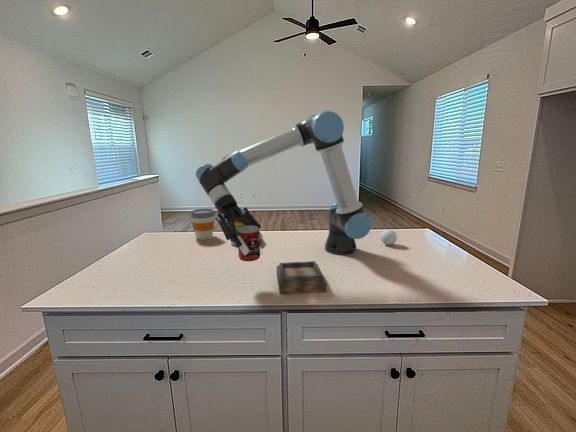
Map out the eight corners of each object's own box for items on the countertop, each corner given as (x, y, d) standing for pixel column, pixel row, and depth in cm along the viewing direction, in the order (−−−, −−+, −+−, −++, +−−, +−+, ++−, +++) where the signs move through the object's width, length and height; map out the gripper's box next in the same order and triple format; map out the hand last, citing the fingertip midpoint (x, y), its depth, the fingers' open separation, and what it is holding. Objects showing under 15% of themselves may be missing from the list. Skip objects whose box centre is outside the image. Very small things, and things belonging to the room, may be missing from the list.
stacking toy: (243, 246, 154) (242, 210, 150) (228, 245, 155) (226, 210, 151) (248, 242, 161) (247, 207, 157) (234, 241, 163) (232, 207, 159)
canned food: (243, 263, 104) (241, 232, 101) (235, 256, 111) (234, 227, 108) (263, 259, 107) (262, 229, 105) (255, 252, 114) (254, 224, 112)
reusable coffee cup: (189, 236, 172) (187, 210, 169) (210, 232, 179) (208, 207, 176) (197, 241, 162) (195, 214, 159) (219, 237, 170) (217, 211, 166)
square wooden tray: (316, 273, 121) (317, 260, 119) (325, 291, 105) (326, 276, 104) (276, 275, 119) (276, 262, 118) (279, 294, 104) (279, 279, 102)
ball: (379, 246, 153) (380, 230, 151) (380, 241, 160) (381, 227, 158) (396, 248, 150) (397, 232, 148) (397, 243, 157) (398, 228, 155)
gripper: (239, 202, 123) (270, 247, 116) (195, 211, 107) (228, 264, 101) (248, 190, 118) (280, 236, 112) (203, 197, 103) (238, 252, 96)
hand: (256, 249), depth 106 cm, fingers closed on canned food, 8 cm apart
